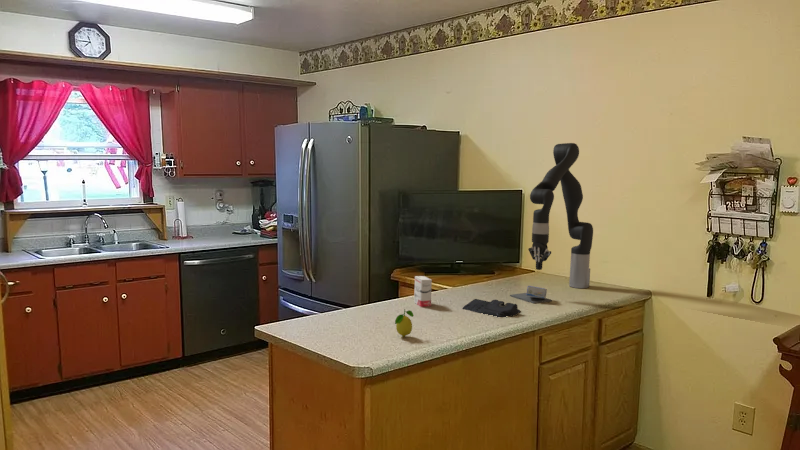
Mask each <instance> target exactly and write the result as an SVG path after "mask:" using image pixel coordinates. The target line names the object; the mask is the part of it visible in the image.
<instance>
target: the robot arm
mask: <svg viewBox="0 0 800 450" xmlns="http://www.w3.org/2000/svg"><path fill="white" fill-rule="evenodd" d="M552 151H553V152H552V153H553V158H554V162H555V163H554V164H555V166H553V167H552V168H550V169H549V170H548V171H547V172H546V173H545V176H544V177H543V179H542V181H540V182H538V184H537V185H536V186H535V187H533V188H532V191H531V192H530V195H529V199H530V202H531V203H532V204H534V205H535V204H536V205H543V206H542V207H541V208H538V209H535V210H534V211H533V216H532V217H533V218H532V226H531V243H532V246H531V247H529V248H528V251H529V254H530V256H531V258H532V260H534V261H535V270H537V271H541V270H542V269H543V263H544V262H546V261H547V260H548V258H549V257H550V256H551V254H552V251H550V250H549V249H548V248H549V247H548V244H549V239H550V238H549V237H550V224H549V223H550V213H551V208H552V206H553V203H554V200H555V194H554V191H555V190H556V189H557V186H558V185H559V183H560V187H561V193H562V198H563V200H564V205H565V212H566V219H567V229H568V234H569V237H570V238H571V239H573V240H576V241H580V242H579V244H578V245H575V246H572V247H571V250H570V267H569V283H568V285H569V287H570V288H576V289H587V288H589V287H590V284H591V283H590V282H591V281H590V280H591V268H590V259H591V250H592V247H593V238H594V226H593V224H592V223H590V222H583V221H580V220H579V217H578V213H579V209H580V207H581V204H582V202H583V200H584V198H583V197H584V195H583V190H582V185H581V183H580V181H579V180H578V179H577V178H576V177H575V175H574V174H573V173H572V172H571V171H570V168H571V167H572V166H573V165H574V164H575V162H576V161H577V160H578V158H579V157H580V149H579V146H578V144H577V143H574V142H567V143H566V142H565V143H557V144H555V145H554V147H553V150H552Z"/></svg>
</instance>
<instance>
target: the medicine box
mask: <svg viewBox="0 0 800 450" xmlns="http://www.w3.org/2000/svg"><path fill="white" fill-rule="evenodd" d="M547 292H548V290H547V288H545V287H537V286H532V285H528V286H527V289H526V293H527V294H526V295H527V296H533V297H539V298H547Z"/></svg>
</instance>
